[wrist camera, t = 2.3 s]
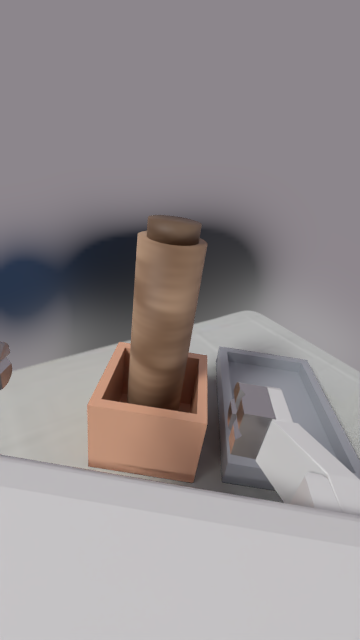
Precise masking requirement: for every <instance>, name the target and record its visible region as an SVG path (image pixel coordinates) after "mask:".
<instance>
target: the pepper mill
mask: <svg viewBox="0 0 360 640" xmlns="http://www.w3.org/2000/svg"><path fill="white" fill-rule="evenodd" d="M200 231H201V223H199V222H197V221H194V220H191V219H186V218H181V217H174V216H164V215H153V216H149V217H148V224H147V231H143V232H140V233H138V238H137V239H138V240H137V254H136V255H137V256H136V270H135V286H134V302H133V318H132V332H131V348H130V363H129V379H128V394H127V403H129V404H135V405H142V406H148V407H154V408H161V409H167V410H173V411H178V410H179V404H180V398H181V392H182V387H183V381H184V375H185V369H186V364H187V358H188V352H189V346H190V341H191V335H192V329H193V323H194V318H195V312H196V306H197V300H198V294H199V289H200V283H201V277H202V272H203V265H204V260H205V254H206V249H207V242H206V241H204V240H203V239H200V238H199V237H200Z"/></svg>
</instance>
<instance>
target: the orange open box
mask: <svg viewBox="0 0 360 640" xmlns="http://www.w3.org/2000/svg"><path fill="white" fill-rule="evenodd" d="M130 348H131V344H130V343H123V342H119V343H118V345H117V347H116V349H115V351H114V353H113V355H112V357H111V359H110V361H109V363H108V365H107V367H106V369H105V371H104V373H103V375H102V377H101V379H100V381H99V383H98V385H97V387H96V389H95V391H94V393H93V395H92V397H91V399H90V401H89V403H88V405H87V413H88V466H90V467H96V468H102V469H109V470H115V471H121V472H127V473H134V474H140V475H146V476H152V477H159V478H165V479H171V480H177V481H184V482H190V483H193V481H194V477H195V473H196V469H197V465H198V461H199V457H200V452H201V448H202V444H203V440H204V436H205V432H206V428H207V355H200V354H194V353H188V358H187V364H186V369H185V375H184V381H183V387H182V392H181V398H180V404H179V410H178V411H173V410H167V409H161V408H154V407H148V406H142V405H135V404H129V403H127V394H128V379H129V363H130Z"/></svg>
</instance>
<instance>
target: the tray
mask: <svg viewBox="0 0 360 640" xmlns="http://www.w3.org/2000/svg"><path fill="white" fill-rule="evenodd" d="M216 371H217V392H218V412H219V432H220V452H221V472H222V482H224V483H230V484H237V485H243V486H249V487H255V488H262V489H268V490H274V491H276V490H275V489H274V487H273V486H272V484H271V483H270V481H269V480H268V478H267V477H266V475H265V474H264V472H263V471H262V469H261V468H260V467H259V465H258V464H257V462H256V461H255V460H256V459H251V458H246V457H241V456H236V455H231V454H230V445H229V436H230V432H231V431H230V429H229V428H228V422H227V420H228V409H229V405H230V401H231V400H232V399H234V388H235V385H236V383H237V382H240V383H246V384H252V385H258V386H268V387H275V388H280V389H281V390H282V393H283V395H284V398H285V401H286V404H287V406H288V409H289V412H290V415H291V417H292V420H293V423H298V424H299V425H300V426H301V427H302V428H303V429H304V430H306V431H307V432H308V433H309V434H310V435H311V436H312V437H313V438H314V439H315V440H317V441H318V442H319V443H320V444H321V445H322V446H323V447H324V448H325V449H327V450H328V451H329V452H330V453H331V454H332V455H333V456H334V457H335V458H336V459H338V460H339V461H340V462H341V463H342V464H343V465H344V466H345V467H346V468H347V469H349V470H350V471H351V472H352V473H353V474H354V475H355V476H356V477H357V478H359V479H360V460H359V458H358V457H357V455H356V453H355V451H354V449H353V447H352V445H351V443H350V441H349V439H348V438H347V436H346V434H345V432H344V430H343V428H342V426H341V424H340V422H339V420H338V419H337V417H336V415H335V413H334V411H333V409H332V407H331V405H330V403H329V401H328V400H327V398H326V396H325V394H324V392H323V390H322V388H321V386H320V384H319V382H318V381H317V379H316V377H315V375H314V373H313V371H312V369H311V367H310V365H309V363H308V362H307V360H303V359H297V358H290V357H284V356H277V355H271V354H265V353H258V352H252V351H245V350H239V349H232V348H226V347H219V351H218V355H217V359H216Z"/></svg>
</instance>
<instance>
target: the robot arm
mask: <svg viewBox="0 0 360 640" xmlns="http://www.w3.org/2000/svg"><path fill="white" fill-rule="evenodd" d="M9 353H10V351H9V345H8V344H7V343H5V342H1V341H0V390H1V389H3V388H4V387H5V386H6V385H7V383H8V381H9V379H10V377H11V374H12V364H11V362H10V361H9V360H8V359H7V356H8V355H9ZM227 422H228V428H229V429H230V431H231V432H230V436H229V445H230V454H231V455H236V456H241V457H246V458H251V459H256V460H255V461H256V462H257V464H258V465H259V467H260V468H261V469H262V471H263V472H264V474H265V475H266V477H267V478H268V480H269V481H270V483H271V484H272V486H273V487H274V489H275V490H276V492H277V493H278V494H279V496H280V497H281V499H282V500H283V502H284V503H281V502H275V501H269V500H263V499H257V498H251V497H246V496H240V495H234V494H228V493H222V492H216V491H210V490H204V489H198V488H192V487H187V486H181V485H175V484H169V483H163V482H158V481H152V480H146V479H140V478H134V477H129V476H123V475H117V474H111V473H105V472H100V471H94V470H88V469H82V468H76V467H70V466H64V465H59V464H53V463H47V462H41V461H35V460H29V459H23V458H18V457H12V456H6V455H0V640H360V479H359V478H357V477H356V476H355V475H354V474H353V473H352V472H351V471H350V470H349V469H347V468H346V467H345V466H344V465H343V464H342V463H341V462H340V461H339V460H338V459H336V458H335V457H334V456H333V455H332V454H331V453H330V452H329V451H328V450H327V449H325V448H324V447H323V446H322V445H321V444H320V443H319V442H318V441H317V440H315V439H314V438H313V437H312V436H311V435H310V434H309V433H308V432H307V431H306V430H304V429H303V428H302V427H301V426H300V425H299V424H298V423H293V420H292V417H291V415H290V412H289V409H288V406H287V404H286V401H285V398H284V395H283V393H282V390H281V389H280V388H275V387H268V386H258V385H252V384H246V383H240V382H237V383H236V385H235V388H234V399H232V400H231V401H230V405H229V409H228V420H227Z"/></svg>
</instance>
